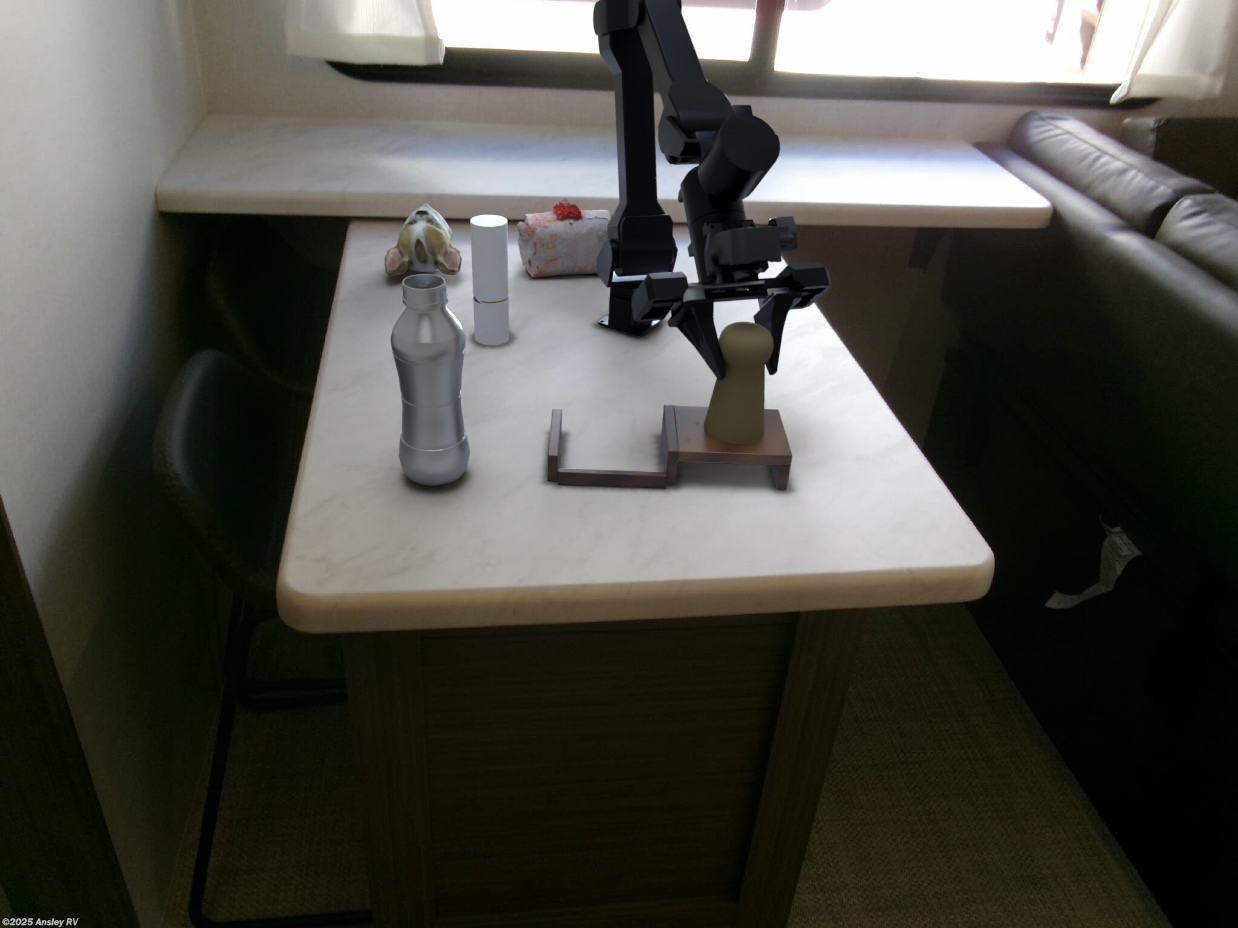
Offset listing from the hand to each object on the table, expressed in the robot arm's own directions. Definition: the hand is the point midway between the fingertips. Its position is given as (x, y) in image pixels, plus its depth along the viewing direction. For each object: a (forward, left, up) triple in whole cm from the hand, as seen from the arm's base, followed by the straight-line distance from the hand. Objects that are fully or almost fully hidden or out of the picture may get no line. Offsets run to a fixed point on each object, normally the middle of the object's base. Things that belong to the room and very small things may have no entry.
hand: (747, 376), depth 90 cm
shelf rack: (+2, -6, -11) cm, 13 cm away
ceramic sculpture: (-23, -59, -11) cm, 65 cm away
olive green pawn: (-1, -1, -7) cm, 7 cm away
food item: (-35, -43, -11) cm, 57 cm away
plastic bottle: (+18, -24, -11) cm, 32 cm away
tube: (-10, -38, -11) cm, 41 cm away
